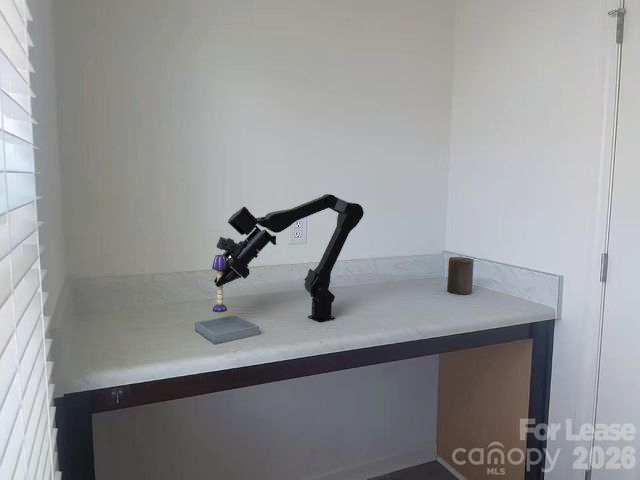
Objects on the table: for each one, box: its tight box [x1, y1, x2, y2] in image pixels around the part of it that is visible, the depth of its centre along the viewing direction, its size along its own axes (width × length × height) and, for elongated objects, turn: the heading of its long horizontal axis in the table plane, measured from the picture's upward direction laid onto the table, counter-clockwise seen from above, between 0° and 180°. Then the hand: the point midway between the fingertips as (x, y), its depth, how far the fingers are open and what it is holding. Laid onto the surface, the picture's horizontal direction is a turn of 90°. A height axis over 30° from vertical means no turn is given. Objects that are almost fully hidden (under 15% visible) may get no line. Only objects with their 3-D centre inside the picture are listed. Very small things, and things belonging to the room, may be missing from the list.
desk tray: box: [194, 314, 260, 346], centre depth 132 cm, size 14×14×2 cm
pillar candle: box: [446, 256, 475, 296], centre depth 185 cm, size 10×10×15 cm
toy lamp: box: [211, 254, 228, 313], centre depth 135 cm, size 5×5×17 cm
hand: (215, 284), depth 135 cm, fingers closed on toy lamp, 4 cm apart
